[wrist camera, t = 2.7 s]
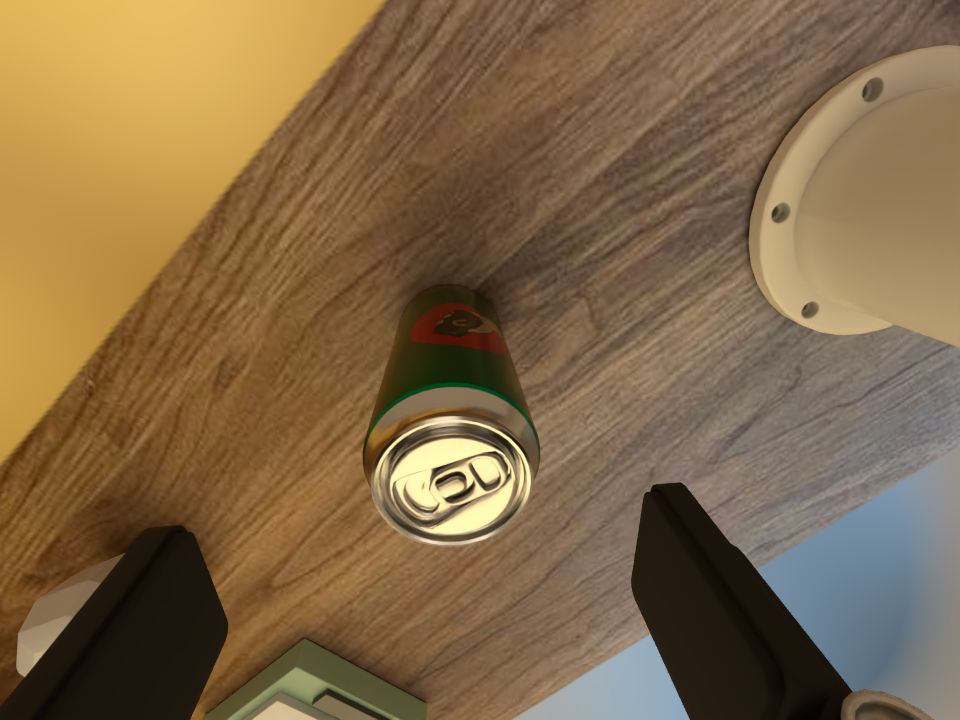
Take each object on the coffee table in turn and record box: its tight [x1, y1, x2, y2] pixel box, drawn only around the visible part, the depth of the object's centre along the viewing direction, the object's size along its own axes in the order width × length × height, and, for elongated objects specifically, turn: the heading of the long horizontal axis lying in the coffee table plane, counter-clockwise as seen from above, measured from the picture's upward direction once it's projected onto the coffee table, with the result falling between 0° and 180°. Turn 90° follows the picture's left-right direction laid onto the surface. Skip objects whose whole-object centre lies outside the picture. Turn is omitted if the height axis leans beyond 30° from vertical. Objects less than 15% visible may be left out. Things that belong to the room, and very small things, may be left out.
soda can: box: [363, 285, 540, 547], centre depth 17 cm, size 5×5×12 cm
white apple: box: [16, 553, 125, 677], centre depth 25 cm, size 8×8×7 cm
